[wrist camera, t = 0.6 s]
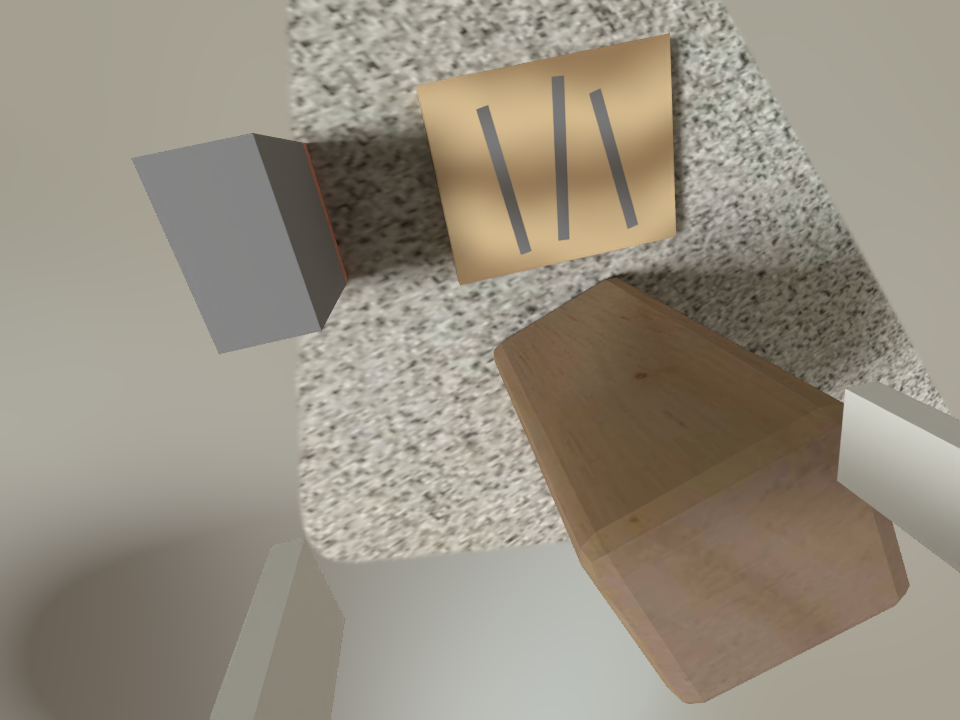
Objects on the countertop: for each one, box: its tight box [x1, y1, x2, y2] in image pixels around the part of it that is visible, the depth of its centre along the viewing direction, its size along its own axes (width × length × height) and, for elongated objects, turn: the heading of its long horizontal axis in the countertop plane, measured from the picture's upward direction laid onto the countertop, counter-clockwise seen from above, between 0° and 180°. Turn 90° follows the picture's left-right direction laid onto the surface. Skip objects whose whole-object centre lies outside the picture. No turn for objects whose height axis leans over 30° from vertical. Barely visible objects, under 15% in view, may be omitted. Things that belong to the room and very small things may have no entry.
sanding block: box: [132, 133, 348, 354], centre depth 24 cm, size 8×4×10 cm, turn 12°
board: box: [417, 33, 676, 285], centre depth 29 cm, size 11×14×2 cm
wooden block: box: [494, 277, 909, 704], centre depth 26 cm, size 10×10×20 cm
